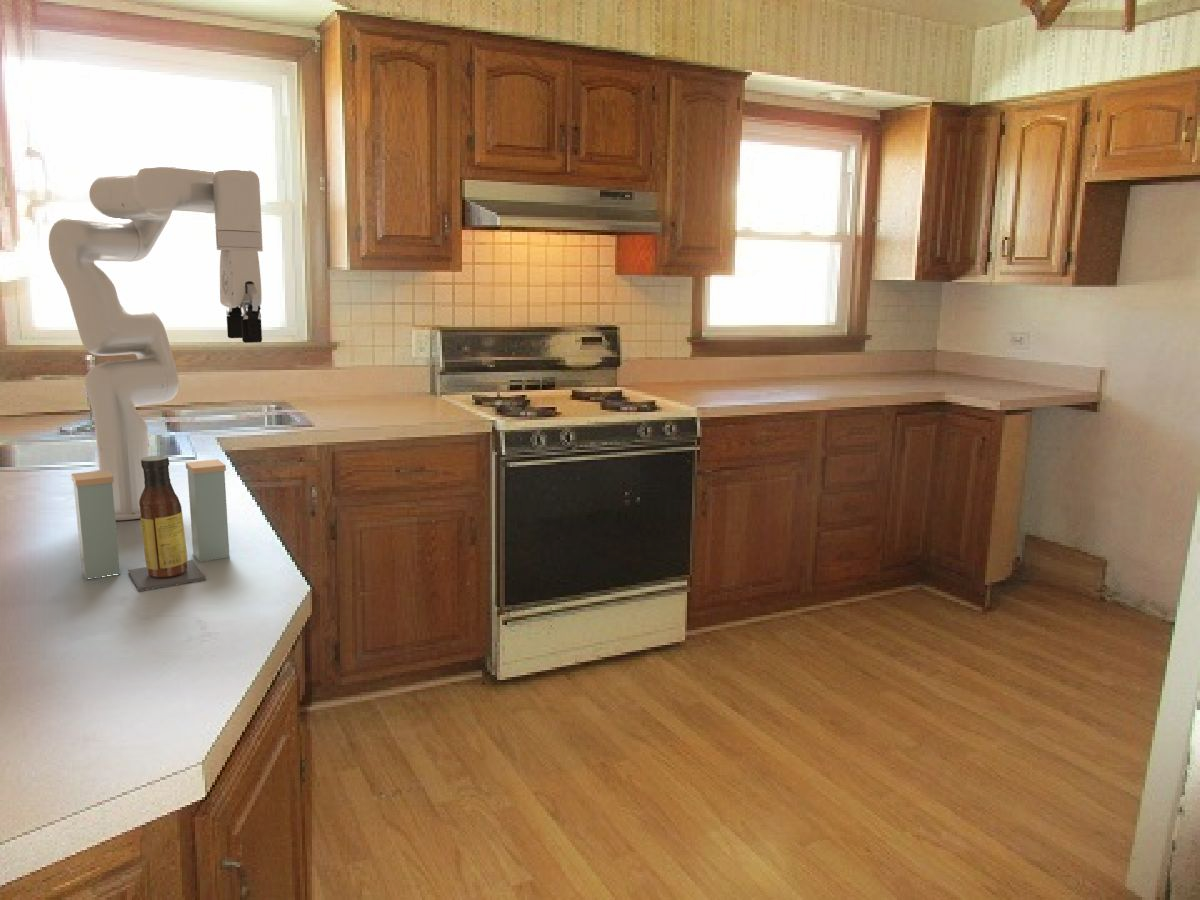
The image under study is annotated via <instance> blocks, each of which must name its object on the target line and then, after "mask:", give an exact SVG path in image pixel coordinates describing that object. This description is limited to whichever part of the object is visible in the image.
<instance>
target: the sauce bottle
mask: <svg viewBox="0 0 1200 900" xmlns="http://www.w3.org/2000/svg"><path fill="white" fill-rule="evenodd" d="M141 466H142V468H143V471H144V479H145V481H144V484H145V488H144V490H143V492H142V494H141V497H140V500H139V505H140V512H141V516H140V518H139V519H140V523H141V525H140V526H141V532H142V533H141V534H142V541H143V548H144V558H145V567H147V568H148V573H149V575H150V576H151V577H158V578H168V577H174V576H178V575H181V574H182V573H184V572H185V571H186V570H187V561H188V551H187V545H186V543H187V542H186V537H185V535H186V534H185V526H184V525H185V524H184V519H183V518H184V517H183V510H182V503H180V499H179V497H178V496H177V494H176V492H175V490H174V488H173V485H172V482H171V479H170V469H169V467H170V460H169V457H168V456H167V455H152V456H151V455H150V457H145V458H142V459H141Z"/></svg>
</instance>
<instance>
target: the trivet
mask: <svg viewBox="0 0 1200 900" xmlns="http://www.w3.org/2000/svg"><path fill="white" fill-rule="evenodd" d="M127 571H128V572H129V573H128V575H129V574H130V575H129V577H130V576H131V577H132V578H131V577H130V578H131V580H132V579H133V580H132V582H133V581H134V582H135V584H136V585H135V584H134V585H135V587H136V586H137V587H136V588H138V589H139V590H138V589H137V590H138V592H141V591H140V590H145V591H147V590H146V589H151V590H153V589H152V588H156V589H159V588H158V587H162V588H165V587H164V586H168V587H171V586H170V585H174V586H177V585H176V584H180V585H183V584H182V583H185V584H189V583H188V582H191V583H196V582H195V581H197V582H201V581H202V580H203V581H207V576H206V575H205V574H204V572H203V571H202V570H201V569H200V568H199V567H198V565H197V564H196V563H195V562H194V560H193V559H190V560H189V559H187V570H186V571H185V572H184V573H182V574H181V575H178V576H174V577H168V578H158V577H151V576H150V575H149V573H148V568H147V567H146V566H145V567H138V568H133V569H128V570H127ZM134 582H133V583H134Z"/></svg>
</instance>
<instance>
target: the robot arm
mask: <svg viewBox="0 0 1200 900" xmlns="http://www.w3.org/2000/svg"><path fill="white" fill-rule="evenodd" d="M260 184H261V183H260V178H259V175H258V174H257V173H256V172H255V171H252V170H249V169H243V168H232V167H231V168H230V167H229V168H227V167H225V168H218V169H217V170H215V169H207V168H199V167H194V166H186V165H185V166H184V165H177V164H173V165H172V164H169V165H168V164H164V165H162V164H161V165H153V166H150V165H149V166H143V167H142V168H140V169H139V170H138V171H126V172H125V171H124V172H115V173H108V174H103V175H101V176H100V177H97V178H96V179H95V180H94V181H93V182H92V184H91V185H90V188H89V194H88V195H89V199H90V202H91V204H92V205H93V207H94V208H95V209H96V210H97V211H98V212H99V213H100V214H102V215H104V216H105V217H102V216H101V217H100V216H87V215H86V216H85V215H84V216H83V215H82V216H81V215H76V216H67V217H64V218H61V219H59V220H57V221H56V222H54V223H53V226H51V228H50V231H49V235H48V250H49V256H50V258H51V261H52V264H53V267H54V269H55V270H56V273H57V275H58V276H59V278H60V280H61V282H62V284H63V286H64V287H65V289H66V292H67V295H68V299H69V302H70V306H71V307H70V308H71V310H72V313H73V317H74V319H75V324H76V328H77V330H78V335H79V337H80V339H81V342H82V345H83V347H84V349H85V351H87V352H88V353H89V354H91V355H94V356H99V357H100V356H102V357H103V356H104V357H109V356H122V355H123V356H124V355H135V356H136V359H124V360H113V361H106V362H105V361H104V362H102V363H97V364H96V365H95V366H93V367H91V368H90V370H88V372H87V374H86V375H85V381H84V383H85V384H84V385H85V390H86V394H87V397H88V400H89V403H90V407H91V411H92V415H93V422H94V430H95V440H96V451H97V458H98V459H97V460H98V471H104V470H109V472H110V473H111V474H112V476H113V479H114V483H112V485H113V497H114V509H115V521H128V520H129V521H130V520H138V519H141V518H140V516H141V512H140V505H139V500H140V497H141V494H142V492H143V490H144V488H145V484H144V481H145V479H144V471H143V468H142V466H141V459H142V458H145V457H150V456H151V446H150V436H149V435H150V434H149V433H150V432H149V428H148V425H147V423H146V421H145V419H144V418H143V417H142V416H141V414H140V413H139V412H138V410H137V407H141V406H148V405H156V404H161V403H163V404H164V403H168V402H169V401H172V400H173V399H174V398H175V397H176V396H177V394H178V393H179V392H178V391H179V389H180V388H179V387H180V385H179V384H180V383H179V382H180V381H179V374H178V371H177V366H176V362H175V360H174V356H173V355H174V354H173V353H172V348H171V344H170V341H169V338H168V334H167V331H166V327H165V325H164V324H163V321H162V320H161V319H160V317H159V316H158V315H157V314H156V313H155V312H154V311H152V310H150V309H148V308H143V307H124V306H122V304H121V302H120V301H119V297H118V293H117V288H116V286H115V285H114V283H113V282H112V280H111V279H110V277H109V276H108V275H107V274H106V273H105V272H104V271H103V270H102V269H101V268H100V267H98V265H96V263H95V261H97V262H99V261H100V262H103V261H104V262H126V263H127V262H128V263H129V262H138V261H141V260H143V259H145V258H146V257H147V256H149V253H150V252H151V250H152V249H153V247H154V246H155V244H156V242H157V241H158V239H159V237H160V235H161V234H162V232H163V230H164V229H165V227H166V225H167V223H168V222H169V219H170V217H171V215H172V213H173V211H179V212H181V211H182V212H193V213H194V212H195V213H196V212H197V213H206V214H214V224H215V239H216V240H215V241H216V250H217V251H220V255H219V301H220V304H221V305H222V306H223V307H226V329H227V332H226V333H227V337H228V338H229V339H242V343H247V344H248V343H249V344H251V343H252V344H253V343H262V342H263V334H262V329H263V328H262V314H261V305H262V299H263V298H262V279H261V278H262V277H261V267H260V260H259V252H263V249H264V248H263V247H264V246H263V230H262V229H263V228H262V209H261V205H262V204H261V188H260V187H261V186H260Z"/></svg>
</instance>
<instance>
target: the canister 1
mask: <svg viewBox="0 0 1200 900" xmlns="http://www.w3.org/2000/svg"><path fill="white" fill-rule="evenodd" d="M70 477H71V481H72V483H73V490H74V491H73V492H74V502H75V513H76V521H77V523H76V524H77V532H78V533H77V535H78V542H79V543H78V545H79V553H80V556H79V557H80V563H81V572H83V573H82V575H83V574H84V575H83V577H84V576H85V577H84V579H85V578H86V579H88V578H95V577H102V576H107V575H113V574H120V575H121V570H120V558H119V548H118V546H119V545H118V535H117V534H118V533H117V522H116V521H117V520H115V509H114V497H113V485H112V483H114V479H113V476H112V474H111V473H110V472H109V470H104V471H99V470H96V471H85V472H83V471H82V472H75V473H71V474H70ZM86 579H85V580H86Z"/></svg>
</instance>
